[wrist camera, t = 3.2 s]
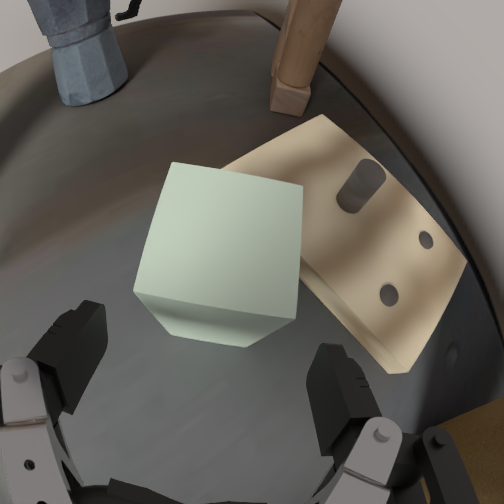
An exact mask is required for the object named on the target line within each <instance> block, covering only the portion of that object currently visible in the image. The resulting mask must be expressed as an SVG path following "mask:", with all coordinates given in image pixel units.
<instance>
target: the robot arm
mask: <svg viewBox="0 0 504 504" xmlns="http://www.w3.org/2000/svg"><path fill="white" fill-rule="evenodd" d="M107 343H108V334H107V323H106V311H105V306H104V305H103V304H100V303H96V302H92V301H88V300H84V301H83V302H82V303H81V304H80V306H79V307H78V308H77V309H76V310H69V311H67V312H66V313H64V314H62V315H60V316H59V317H58V319H57V320H56V321H55V322H54V323H53V326H51V327H50V328H49V329H48V330H47V332H46V333H45V334H44V335H43V337H42V338H41V339H40V340H39V341H38V343H37V344H36V345H35V346H34V348H33V349H32V350H31V351H30V353H29V354H28V355H27V357H15V358H12V359H10V360H8V361H7V362H6V363H5V364H4V365H3V366H2V365H0V449H1V454H2V460H3V465H4V469H5V474H6V478H7V482H8V486H9V490H10V493H11V497H12V500H13V503H14V504H183V503H180V502H178V501H175V500H173V499H170V498H168V497H165V496H163V495H161V494H159V493H156V492H154V491H152V490H150V489H148V488H144V487H140V486H136V485H132V484H129V483H125V482H122V481H119V480H115V479H112V478H110V482H109V485H92V486H85V485H84V483H83V481H82V479H81V477H80V475H79V473H78V471H77V469H76V467H75V465H74V463H73V460H72V457H71V455H70V452H69V449H68V446H67V443H66V440H65V437H64V434H63V430H62V427H61V424H60V420H59V416H60V414H61V412H62V411H64V412H66V413H68V414H71V415H73V413H74V411H75V409H76V407H77V405H78V403H79V401H80V399H81V397H82V395H83V393H84V391H85V389H86V387H87V385H88V383H89V381H90V379H91V377H92V375H93V374H94V372H95V370H96V368H97V366H98V364H99V362H100V361H101V359H102V357H103V355H104V353H105V351H106V348H107ZM365 378H366V377H365V375H364V373H363V371H362V368H361V367H360V366H359V365H358V364H357V363H356V362H355V361H354V360H353V359H352V358H348V357H347V355H346V352H345V350H344V348H343V346H342V345H340V344H328V343H322V344H321V345H320V346H319V348H318V351H317V353H316V355H315V358H314V360H313V362H312V365H311V367H310V369H309V371H308V374H307V380H306V387H307V392H308V396H309V401H310V405H311V410H312V414H313V419H314V423H315V428H316V433H317V437H318V442H319V447H320V452H321V456H333V459H334V462H333V463H332V464H331V466H330V467H329V469H328V471H327V472H326V474H325V475H324V477H323V478H322V480H321V481H320V483H319V484H318V486H317V487H316V489H315V490H314V492H313V493H312V494H311V496H310V497H309V499H308V500H307V501H306V502H305V504H386V503H387V504H427V501H426V497H425V494H424V491H423V488H422V484H421V481H420V480H421V479H422V478H423V477H424V479H425V483H426V486H427V489H428V492H429V495H430V503H429V504H479V501H478V498H477V495H476V493H475V490H474V488H473V485H472V482H471V480H470V477H469V475H468V473H467V470H466V468H465V465H464V463H463V461H462V458H461V456H460V454H459V452H458V449H457V447H456V445H455V443H454V441H453V438H452V437H451V435H450V434H449V433H448V432H447V431H446V430H445V429H443V428H441V427H436V426H432V427H429V428H427V429H426V430H425V431H424V432H423V433H422V434H421V435H414V434H408V433H402V432H401V430H400V428H399V427H398V425H397V424H396V423H394V422H393V421H392V420H390V419H387V418H384V417H382V415H381V412H380V410H379V408H378V405H377V403H376V401H375V398H374V396H373V394H372V391H371V389H370V388H369V384H368V382H367V380H365ZM208 504H267V503H249V502H231V501H227V502H218V503H208Z"/></svg>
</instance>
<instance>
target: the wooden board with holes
mask: <svg viewBox="0 0 504 504" xmlns="http://www.w3.org/2000/svg"><path fill="white" fill-rule="evenodd" d="M221 170H226V171H232V172H238V173H243V174H248V175H253V176H259V177H264V178H269V179H273V180H278V181H283V182H288V183H292V184H297V185H301V186H303V210H302V233H301V252H300V269H299V278H300V279H301V280H302V281H303V282H304V284H305V285H306V286H307V287H308V288H309V289H310V290H311V291H312V292H313V293H314V294H315V295H316V296H317V297H318V298H319V299H320V300H321V302H322V303H323V304H324V305H325V306H326V307H327V308H328V309H329V310H330V311H331V312H332V313H333V314H334V315H335V316H336V318H337V319H338V320H339V321H340V322H341V323H342V324H343V325H344V326H345V327H346V328H347V329H348V330H349V331H350V333H351V334H352V335H353V336H354V337H355V338H356V339H357V340H358V341H359V342H360V343H361V344H362V346H363V347H364V348H365V349H366V350H367V351H368V352H369V353H370V354H371V355H372V356H373V357H374V359H375V360H376V361H377V362H378V363H379V364H380V365H381V366H382V367H383V368H384V369H385V371H386V372H387V373H388V374H395V373H407V372H409V370H410V369H411V367H412V366H413V364H414V362H415V361H416V359H417V358H418V356H419V355H420V353H421V351H422V350H423V348H424V346H425V345H426V343H427V341H428V340H429V338H430V336H431V334H432V333H433V331H434V329H435V327H436V326H437V324H438V322H439V320H440V318H441V316H442V314H443V312H444V311H445V309H446V307H447V305H448V303H449V301H450V299H451V297H452V295H453V292H454V290H455V288H456V286H457V284H458V282H459V279H460V277H461V275H462V273H463V270H464V268H465V266H466V263H467V260H466V259H465V257H464V256H463V255H462V253H461V252H460V251H459V250H458V248H457V247H456V246H455V244H454V243H453V242H452V241H451V239H450V238H449V237H448V236H447V235H446V233H445V232H444V231H443V230H442V228H441V227H440V226H439V225H438V224H437V223H436V221H435V220H434V219H433V218H432V217H431V216H430V215H429V213H428V212H427V211H426V210H425V209H424V208H423V207H422V206H421V205H420V203H419V202H418V201H417V200H416V199H415V198H414V197H413V196H412V195H411V194H410V193H409V192H408V191H407V190H406V189H405V188H404V187H403V186H402V185H401V184H400V183H399V181H398V180H397V179H396V178H394V177H393V176H392V175H391V174H390V173H389V172H388V171H387V170H386V169H385V168H384V167H383V166H382V165H381V164H380V163H379V162H378V161H377V160H376V159H375V158H374V157H372V156H371V155H370V154H369V153H368V152H367V151H366V150H365V149H364V148H363V147H361V146H360V145H359V144H358V143H357V142H356V141H355V140H353V139H352V138H351V137H350V136H349V135H348V134H346V133H345V132H344V131H343V130H342V129H340V128H339V127H338V126H337V125H335V124H334V123H333V122H332V121H330V120H329V119H328V118H327V117H325V116H324V115H323V114H321V115H319V116H317V117H315V118H313V119H311V120H309V121H307V122H305V123H303V124H301V125H299V126H297V127H295V128H293V129H291V130H290V131H288V132H286V133H284V134H282V135H280V136H278V137H276V138H275V139H273V140H271V141H269V142H267V143H265V144H264V145H262V146H260V147H258V148H256V149H255V150H253V151H251V152H249V153H248V154H246V155H244V156H242V157H241V158H239V159H237V160H236V161H234V162H232V163H230V164H229V165H227V166H225V167H224V168H222V169H221Z"/></svg>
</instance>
